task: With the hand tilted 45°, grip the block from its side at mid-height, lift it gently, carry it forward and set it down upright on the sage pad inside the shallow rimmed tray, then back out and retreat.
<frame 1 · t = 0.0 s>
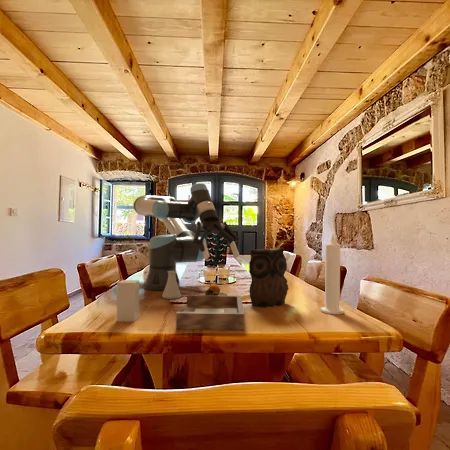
hand: (222, 257, 122), 15 cm above the table, tool tilted 35°, fingers open, 13 cm apart
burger: (211, 300, 118), on the table
flask: (171, 297, 120), on the table
block: (128, 319, 91), on the table
candle: (332, 312, 102), on the table
shallow rimmed tray: (212, 317, 94), on the table
owl: (266, 303, 113), on the table
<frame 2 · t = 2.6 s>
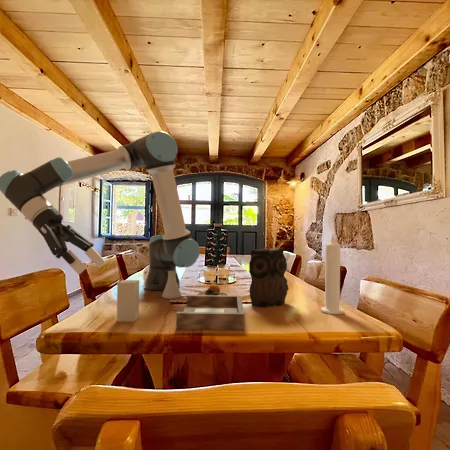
hand: (93, 267, 92), 15 cm above the table, tool tilted 45°, fingers open, 13 cm apart
nothing on the table moved.
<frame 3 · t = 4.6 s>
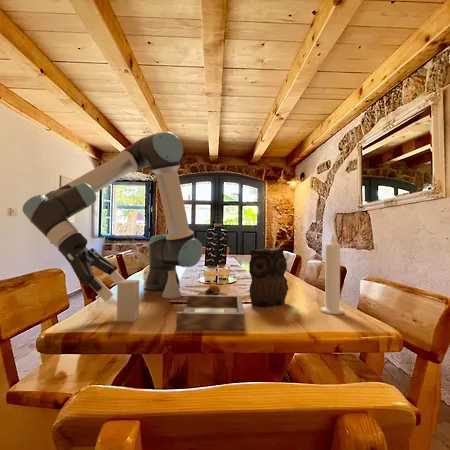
hand: (118, 293, 91), 8 cm above the table, tool tilted 45°, fingers open, 13 cm apart
nothing on the table moved.
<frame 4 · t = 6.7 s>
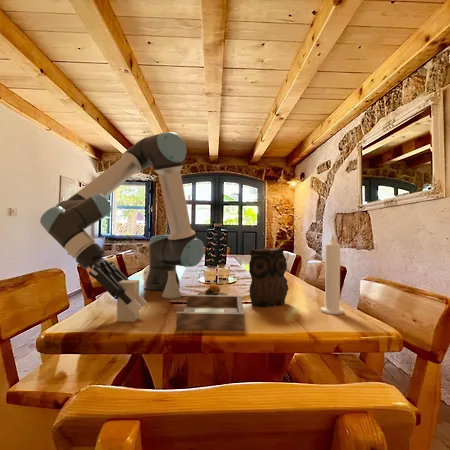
hand: (141, 308, 91), 3 cm above the table, tool tilted 45°, fingers closed on block, 4 cm apart
block: (128, 319, 91), on the table, touching gripper
everything else where it was.
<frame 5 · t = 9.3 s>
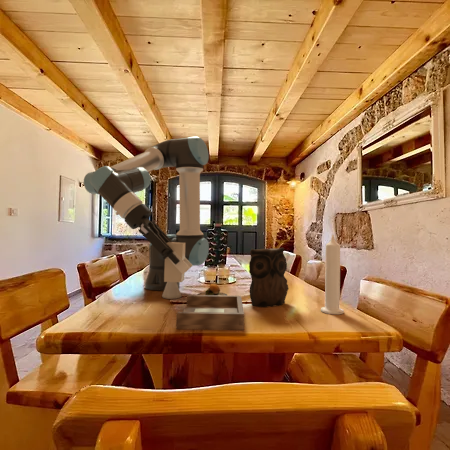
hand: (187, 269, 91), 15 cm above the table, tool tilted 45°, fingers closed on block, 4 cm apart
block: (174, 280, 91), point 11 cm above the table, touching gripper
everything else where it was.
when the fingers open (6 cm above the table, at t = 12.0 s): block drops 1 cm, resting on shallow rimmed tray.
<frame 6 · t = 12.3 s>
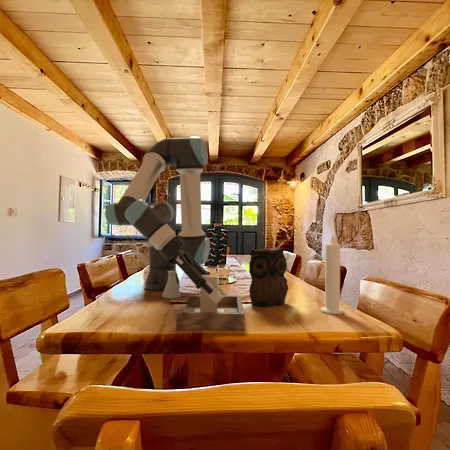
hand: (220, 296, 94), 6 cm above the table, tool tilted 45°, fingers open, 9 cm apart
block: (209, 312, 94), point 1 cm above the table, touching shallow rimmed tray
everything else where it was.
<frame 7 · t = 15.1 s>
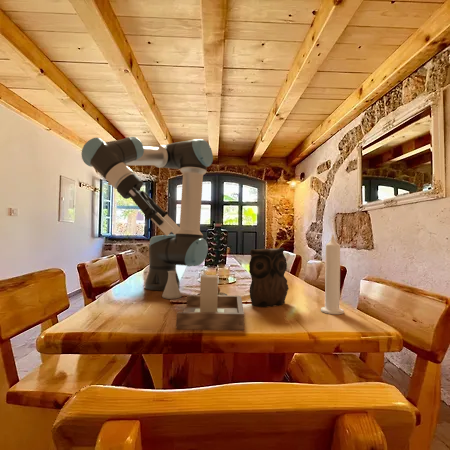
hand: (174, 232, 94), 25 cm above the table, tool tilted 45°, fingers open, 13 cm apart
nothing on the table moved.
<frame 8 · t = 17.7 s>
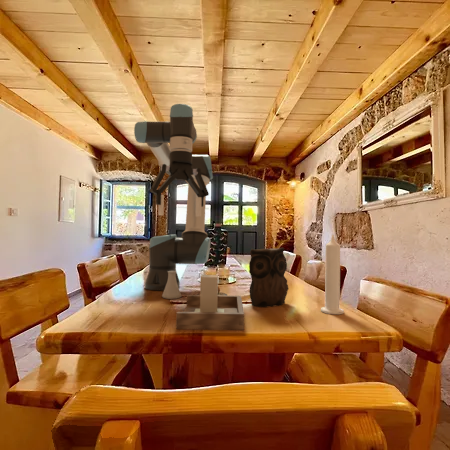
hand: (180, 215, 105), 31 cm above the table, tool pointing down, fingers open, 13 cm apart
nothing on the table moved.
at the end: block 1.0 cm from the shallow rimmed tray (horizontally); block tilted 0°; the gripper is holding nothing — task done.
